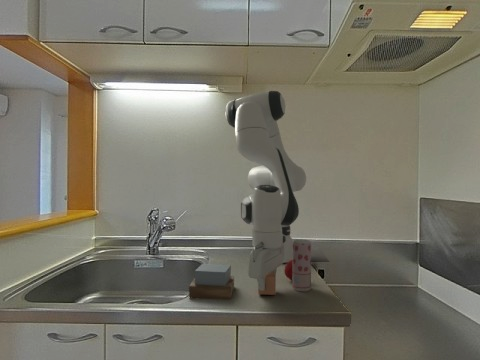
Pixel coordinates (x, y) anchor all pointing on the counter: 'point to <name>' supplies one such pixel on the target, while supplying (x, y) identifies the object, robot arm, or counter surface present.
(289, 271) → the onion
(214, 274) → the grey block
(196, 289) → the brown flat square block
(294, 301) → the counter surface
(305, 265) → the beverage can
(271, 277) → the rust cube
